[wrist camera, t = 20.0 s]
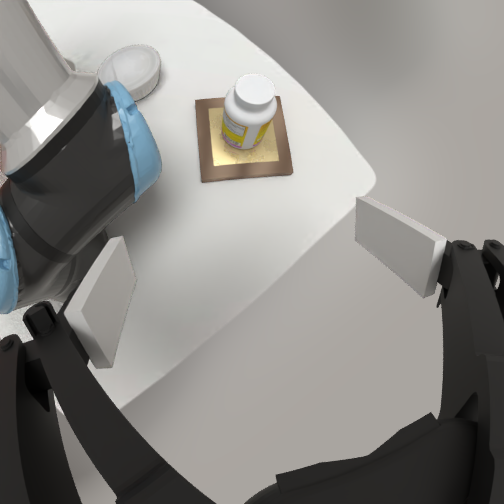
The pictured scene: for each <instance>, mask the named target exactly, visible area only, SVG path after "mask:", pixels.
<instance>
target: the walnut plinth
mask: <svg viewBox="0 0 504 504" xmlns="http://www.w3.org/2000/svg"><path fill="white" fill-rule="evenodd" d="M275 98H276V101H277V109H276V112H275V115H274V117H273V119H272V121H271V123H270V125H269V127H268V129H267V131H266V133H265V135H264V137H263V139H262V141H261V142H260V143H259V144H258V145H257V146H255V147H253V148H250V149H238V148H235V147H232V146H231V145H229V144H228V143H227V142H226V141H225V139H224V137H223V135H222V118H223V110H224V101H225V98H211V99H200V100H195V104H196V119H197V133H198V146H199V158H200V169H201V179H202V183H204V182H212V181H222V180H232V179H242V178H254V177H267V176H282V175H291V174H292V173H293V167H292V160H291V154H290V149H289V143H288V137H287V132H286V126H285V121H284V116H283V110H282V105H281V100H280V96H275Z"/></svg>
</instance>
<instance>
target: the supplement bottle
mask: <svg viewBox="0 0 504 504" xmlns="http://www.w3.org/2000/svg"><path fill="white" fill-rule="evenodd" d="M274 95H275V86H274V84H273V83H272V81H271V80H270V79H268V78H267V77H265V76H263V75H261V74H255V73H251V74H246V75H243V76H242V77H240V78H239V79H238V80H237V82H236V84H235V86H233V87H232V88H231V89H230V90H229V91H228V93H227V94H226V97H225V101H224V110H223V118H222V135H223V137H224V139H225V141H226V142H227V143H228V144H229V145H231V146H232V147H235V148H238V149H250V148H253V147H255V146H257V145H258V144H259V143H260V142H261V141H262V139H263V137H264V135H265V133H266V131H267V129H268V127H269V125H270V123H271V121H272V119H273V117H274V115H275V112H276V109H277V101H276V98H275V96H274Z"/></svg>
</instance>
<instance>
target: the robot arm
mask: <svg viewBox="0 0 504 504" xmlns="http://www.w3.org/2000/svg"><path fill="white" fill-rule="evenodd" d="M0 148H1V171H2V172H3V173H4V174H5V175H6V176H7V177H8V179H7V180H6V182H5V183H4V184H3V185H2V187H1V188H0V314H8V313H11V312H12V311H14V310H16V309H19V308H22V307H25V306H28V305H31V304H34V303H37V302H39V303H37V304H35V305H33V306H32V307H30V308H29V309H28V310H27V311H26V312H25V314H24V316H23V322H24V323H25V325H26V327H27V329H28V330H29V332H30V334H31V335H32V337H33V339H34V340H31V341H28V342H25V343H22V341H21V339H20V338H19V336H18V335H16V334H12V335H9V336H7V337H4V338H3V339H2V340H1V341H0V504H82V503H81V500H80V497H79V495H78V492H77V489H76V487H75V483H74V480H73V477H72V474H71V471H70V468H69V464H68V461H67V457H66V454H65V450H64V446H63V442H62V438H61V434H60V428H59V424H58V418H57V414H56V407H55V400H54V394H55V396H56V398H57V400H58V402H59V404H60V406H61V408H62V410H63V412H64V414H65V416H66V418H67V420H68V422H69V424H70V426H71V428H72V429H73V431H74V433H75V435H76V436H77V438H78V440H79V442H80V443H81V445H82V447H83V448H84V450H85V452H86V453H87V455H88V456H89V458H90V459H91V461H92V462H93V464H94V465H95V467H96V468H97V470H98V471H99V473H100V474H101V475H102V477H103V478H104V479H105V481H106V482H107V483H108V485H109V486H110V488H111V489H112V490H113V492H114V493H115V494H116V496H117V499H116V501H115V502H116V504H216V503H215V502H213V501H212V500H211V499H209V498H208V497H207V496H205V495H204V494H203V493H202V492H200V491H199V490H198V489H197V488H196V487H194V486H193V485H192V484H191V483H190V482H188V481H187V480H186V479H185V478H184V477H183V476H182V475H180V474H179V473H178V472H177V471H176V470H175V469H174V468H173V467H172V466H171V465H169V464H168V463H167V462H166V461H165V460H164V459H163V458H162V457H161V456H160V455H159V454H158V453H157V452H156V451H155V450H154V449H153V448H152V447H151V446H150V445H149V444H148V443H147V442H146V440H145V439H144V438H143V437H142V436H141V435H140V434H139V433H138V432H137V431H136V429H135V428H134V427H133V426H132V425H131V424H130V423H129V421H128V420H127V419H126V418H125V417H124V416H123V414H122V413H121V412H120V410H119V409H118V408H117V407H116V405H115V404H114V403H113V402H112V400H111V399H110V398H109V396H108V395H107V394H106V392H105V391H104V390H103V388H102V387H101V386H100V384H99V383H98V381H97V380H96V379H95V377H94V376H93V374H92V373H91V371H90V370H89V368H88V367H87V364H88V361H89V358H90V360H91V362H92V363H93V365H94V366H95V368H96V369H100V368H112V367H113V363H114V359H115V355H116V351H117V347H118V343H119V339H120V335H121V332H122V328H123V324H124V321H125V317H126V314H127V311H128V307H129V304H130V301H131V297H132V294H133V291H134V288H135V285H136V282H137V279H136V276H135V273H134V270H133V267H132V264H131V261H130V257H129V254H128V251H127V248H126V244H125V241H124V237H123V236H119V237H114V238H110V240H109V241H108V237H107V234H106V232H105V230H104V228H105V227H106V226H107V225H108V224H109V223H110V222H111V221H113V220H114V219H115V218H116V217H117V216H118V215H119V214H120V213H122V212H123V211H124V210H125V209H126V208H127V207H129V206H130V205H131V204H132V203H135V202H137V200H138V199H139V196H140V195H141V194H142V193H144V192H145V191H146V190H147V189H148V188H149V187H150V186H151V185H152V184H154V183H155V182H156V181H157V179H158V177H159V175H160V173H161V170H162V162H161V157H160V153H159V150H158V147H157V145H156V142H155V140H154V138H153V135H152V133H151V131H150V129H149V127H148V125H147V123H146V121H145V119H144V117H143V115H142V114H141V112H140V111H138V110H137V106H136V104H135V102H134V100H133V98H132V96H131V95H130V93H129V92H128V90H127V89H126V88H125V87H124V85H123V84H121V83H120V82H119V81H117V80H114V81H111V82H107V83H105V84H104V85H103V84H102V82H101V81H100V79H99V78H98V76H97V75H96V74H95V73H88V72H75V71H72V70H71V69H70V67H69V66H68V64H67V63H66V61H65V60H64V58H63V57H62V55H61V54H60V52H59V51H58V49H57V48H56V46H55V45H54V43H53V42H52V40H51V38H50V37H49V35H48V34H47V32H46V31H45V29H44V28H43V26H42V24H41V23H40V21H39V20H38V18H37V16H36V15H35V13H34V11H33V10H32V8H31V7H30V5H29V3H28V2H27V0H0ZM355 241H356V242H357V243H359V244H360V245H361V246H362V247H364V248H365V249H366V250H367V251H369V252H370V253H371V254H372V255H374V256H375V257H376V258H377V259H378V260H380V261H381V262H382V263H383V264H384V265H386V266H387V267H388V268H389V269H390V270H391V271H393V272H394V273H395V274H396V275H397V276H399V277H400V278H401V279H402V280H403V281H404V282H405V283H407V284H408V285H409V286H410V287H411V288H412V289H413V290H414V291H416V292H417V293H418V294H419V295H420V296H421V297H422V298H425V297H428V296H430V295H433V294H434V293H435V289H436V286H437V282H438V283H439V284H441V285H442V289H441V293H440V296H439V299H438V303H437V308H438V307H439V305H440V304H441V306H442V307H441V308H442V321H443V384H442V398H441V409H440V413H439V416H438V419H437V420H436V419H435V417H434V416H433V414H432V413H431V412H430V413H429V414H427V415H425V416H424V417H422V418H420V419H419V420H417V421H415V422H413V423H412V424H409V425H408V426H406V427H404V428H402V429H400V430H399V431H398V432H397V433H396V434H395V435H393V436H392V437H391V438H390V439H389V440H387V441H386V442H385V443H384V444H382V445H381V446H380V447H379V448H377V449H376V450H375V451H374V452H372V453H371V454H369V455H367V456H364V457H358V458H352V459H346V460H339V461H331V462H322V463H318V464H314V465H311V466H308V467H304V468H301V469H297V470H293V471H289V472H286V473H282V474H277V475H276V480H277V483H275V484H273V485H271V486H269V487H267V488H265V489H263V490H261V491H260V492H258V493H257V494H255V495H254V496H253V497H251V498H250V499H249V500H248V501H247V502H245V503H244V504H504V246H503V245H502V244H501V243H500V242H498V241H496V240H485V241H484V245H483V250H477V249H476V247H475V246H474V245H473V244H471V243H469V242H467V241H462V240H456V241H453V242H452V243H451V242H449V241H447V239H446V238H445V237H443V236H441V235H440V234H438V233H436V232H434V231H433V230H431V229H429V228H427V227H426V226H424V225H422V224H420V223H419V222H417V221H415V220H413V219H411V218H409V217H407V216H406V215H404V214H402V213H400V212H398V211H396V210H394V209H392V208H390V207H388V206H386V205H384V204H382V203H380V202H378V201H376V200H374V199H372V198H370V197H368V196H362V197H356V224H355ZM498 276H500V284H499V287H498V289H496V287H495V285H496V282H497V279H498ZM47 299H53V300H56V301H59V302H63V303H64V304H63V306H62V307H61V309H60V311H59V312H58V314H56V312H55V310H54V309H53V307H52V305H51V303H50V302H49V301H43V300H47ZM40 301H42V302H40ZM53 391H54V393H53Z"/></svg>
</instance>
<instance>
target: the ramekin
mask: <svg viewBox="0 0 504 504" xmlns="http://www.w3.org/2000/svg"><path fill="white" fill-rule="evenodd" d="M160 67H161V59H160V55H159V53H158V52H157V51H156V50H155V49H154V48H152V47H150V46H147V45H131V46H127V47H124V48H122V49H120V50H118V51H116V52H114V53H112V54H111V55H110V56H109V57H108V58H106V59H105V61H104V62H103V63H102V64H101V66H100V67H99V69H98V72H97V76H98V78H99V79H100V81H101V82H102V84H103V85H104V84H105V83H107V82H111V81H114V80H117V81H119V82H120V83H121V84H123V85H124V87H125V88H126V89H127V90H128V92H129V93H130V95H131V96H132V98H133V100H134V101H137V100H139V99H141V98H143V97H145V96H146V95H148V94H149V93H150V92H151V91H152V90H153V89H154V88H155V86H156V84H157V83H158V80H159V71H160Z"/></svg>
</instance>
